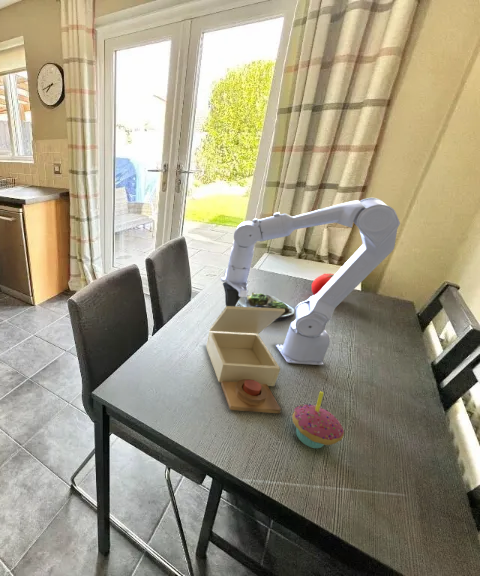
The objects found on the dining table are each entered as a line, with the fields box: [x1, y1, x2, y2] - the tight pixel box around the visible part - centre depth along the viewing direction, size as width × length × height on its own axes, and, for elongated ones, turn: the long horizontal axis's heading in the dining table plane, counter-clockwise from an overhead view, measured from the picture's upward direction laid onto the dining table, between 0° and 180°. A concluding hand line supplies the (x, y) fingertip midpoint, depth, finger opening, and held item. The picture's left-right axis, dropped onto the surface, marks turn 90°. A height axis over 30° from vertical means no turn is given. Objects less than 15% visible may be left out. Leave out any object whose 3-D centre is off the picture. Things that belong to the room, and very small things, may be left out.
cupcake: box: [291, 387, 345, 449], centre depth 61 cm, size 9×8×12 cm
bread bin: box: [205, 330, 281, 387], centre depth 82 cm, size 15×14×6 cm
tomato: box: [311, 273, 336, 296], centre depth 115 cm, size 11×13×10 cm
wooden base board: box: [220, 379, 282, 414], centre depth 73 cm, size 11×8×3 cm
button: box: [243, 379, 261, 396], centre depth 72 cm, size 4×4×2 cm
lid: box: [209, 305, 285, 335], centre depth 81 cm, size 16×14×1 cm
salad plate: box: [237, 292, 295, 322], centre depth 111 cm, size 19×18×5 cm
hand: (229, 306), depth 92 cm, fingers closed
